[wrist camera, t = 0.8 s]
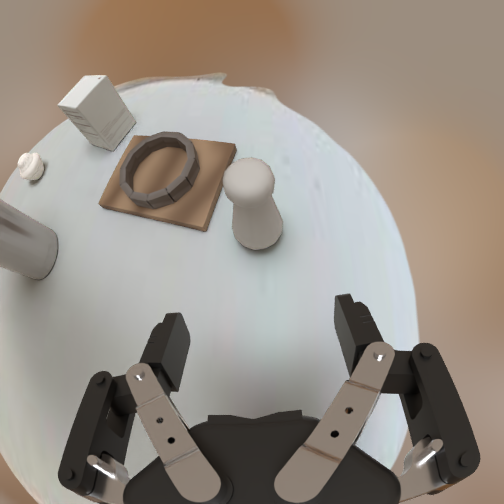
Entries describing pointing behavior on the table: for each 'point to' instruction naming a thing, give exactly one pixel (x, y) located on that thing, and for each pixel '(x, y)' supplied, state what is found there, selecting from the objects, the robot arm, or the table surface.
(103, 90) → the supplement box
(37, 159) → the muffin
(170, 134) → the socket base
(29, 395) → the table surface
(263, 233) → the salt shaker
